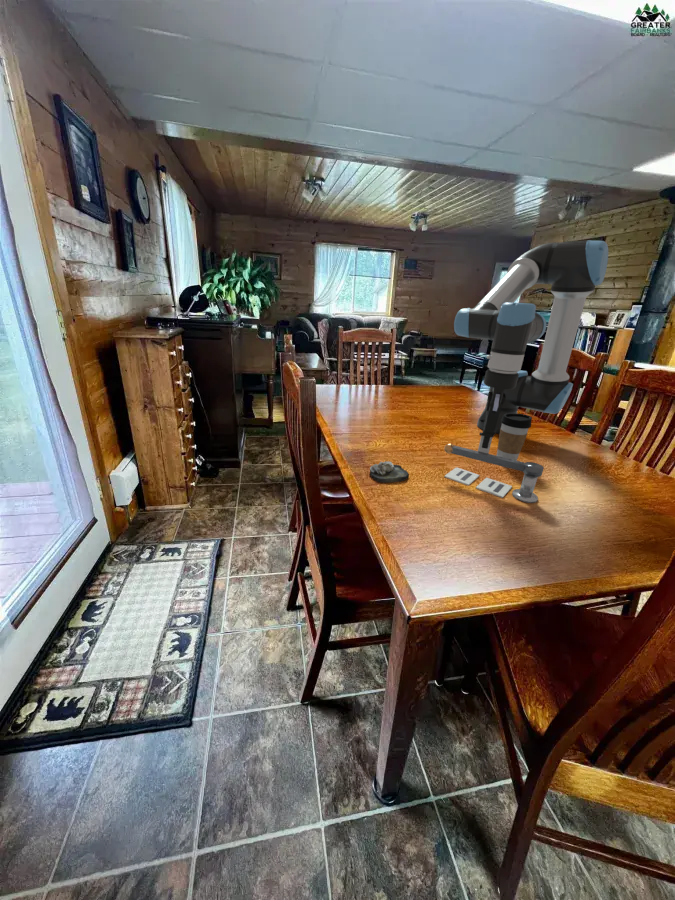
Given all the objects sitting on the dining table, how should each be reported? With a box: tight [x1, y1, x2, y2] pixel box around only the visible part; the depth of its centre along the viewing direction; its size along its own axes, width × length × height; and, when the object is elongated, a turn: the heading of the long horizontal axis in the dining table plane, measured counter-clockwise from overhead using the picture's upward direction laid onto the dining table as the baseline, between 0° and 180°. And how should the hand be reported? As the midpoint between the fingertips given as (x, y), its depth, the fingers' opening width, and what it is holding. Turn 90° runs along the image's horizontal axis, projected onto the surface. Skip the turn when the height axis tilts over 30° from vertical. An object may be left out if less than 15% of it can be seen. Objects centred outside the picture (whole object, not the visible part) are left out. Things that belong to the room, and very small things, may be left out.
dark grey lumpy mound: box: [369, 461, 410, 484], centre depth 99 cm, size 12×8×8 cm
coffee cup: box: [496, 413, 533, 461], centre depth 110 cm, size 8×8×15 cm
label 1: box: [444, 467, 480, 486], centre depth 100 cm, size 8×7×1 cm
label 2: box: [475, 476, 513, 499], centre depth 95 cm, size 8×7×1 cm
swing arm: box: [443, 443, 545, 478], centre depth 93 cm, size 25×4×3 cm, turn 58°
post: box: [511, 473, 539, 504], centre depth 90 cm, size 6×6×7 cm
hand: (481, 457), depth 96 cm, fingers closed
